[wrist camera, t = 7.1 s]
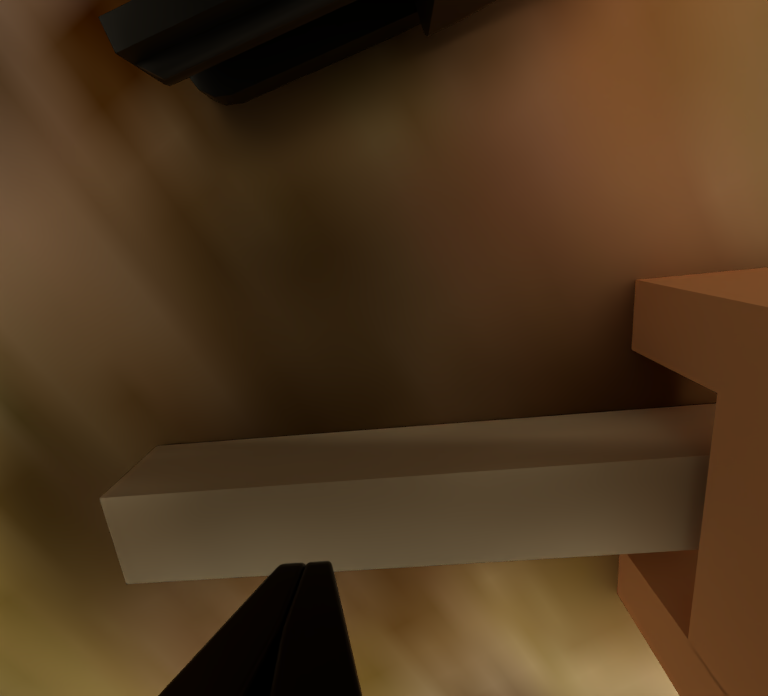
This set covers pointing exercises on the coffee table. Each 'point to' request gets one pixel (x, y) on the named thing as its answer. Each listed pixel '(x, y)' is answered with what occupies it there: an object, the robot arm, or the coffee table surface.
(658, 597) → the collar
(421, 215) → the coffee table surface
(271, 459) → the rail
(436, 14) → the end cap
